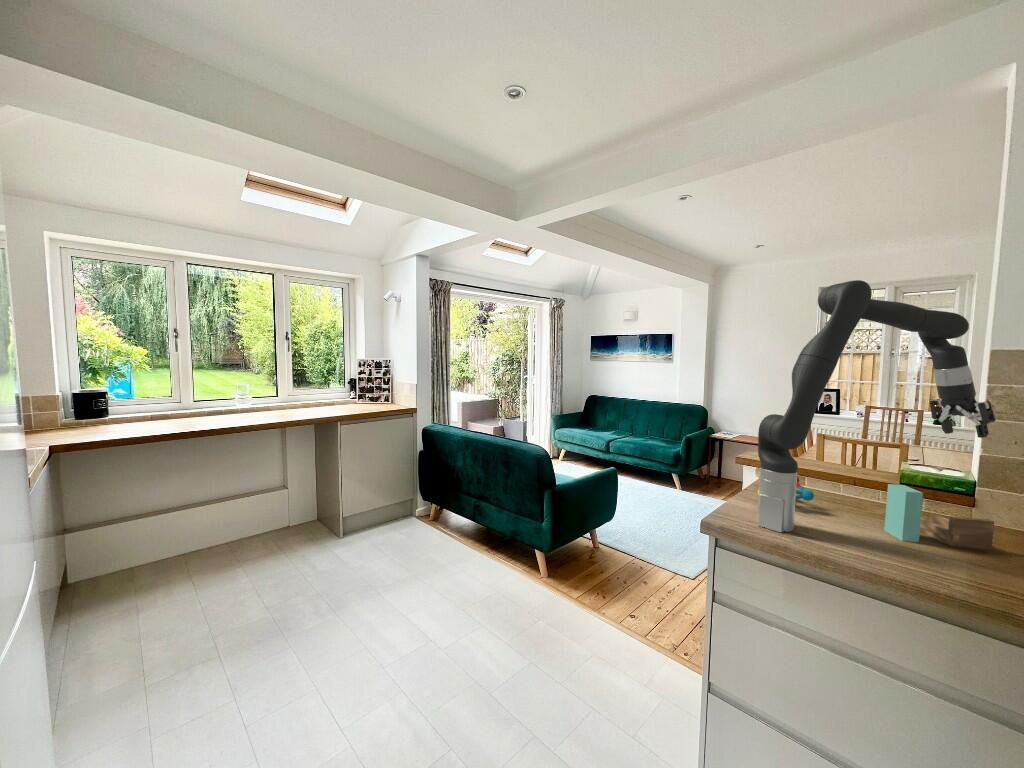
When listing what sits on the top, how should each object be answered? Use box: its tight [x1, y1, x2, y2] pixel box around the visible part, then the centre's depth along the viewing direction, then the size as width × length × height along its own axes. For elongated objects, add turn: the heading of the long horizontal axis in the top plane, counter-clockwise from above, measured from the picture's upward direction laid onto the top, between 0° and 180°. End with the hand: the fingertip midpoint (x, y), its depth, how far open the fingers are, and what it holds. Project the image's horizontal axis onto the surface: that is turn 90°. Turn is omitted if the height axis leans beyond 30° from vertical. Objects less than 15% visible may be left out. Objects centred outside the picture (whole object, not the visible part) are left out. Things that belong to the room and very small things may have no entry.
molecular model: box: [757, 475, 815, 502], centre depth 142 cm, size 15×10×15 cm
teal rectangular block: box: [883, 483, 924, 543], centre depth 117 cm, size 7×4×14 cm, turn 169°
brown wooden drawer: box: [920, 512, 995, 551], centre depth 119 cm, size 18×9×8 cm, turn 169°
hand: (965, 435), depth 121 cm, fingers open, 8 cm apart
